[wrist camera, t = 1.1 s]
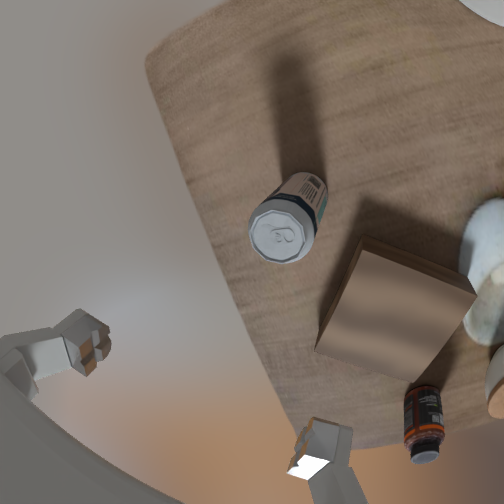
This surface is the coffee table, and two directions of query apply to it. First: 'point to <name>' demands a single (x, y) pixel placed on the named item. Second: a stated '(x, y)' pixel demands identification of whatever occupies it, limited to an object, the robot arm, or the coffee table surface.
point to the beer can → (288, 219)
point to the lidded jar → (495, 384)
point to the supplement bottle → (423, 424)
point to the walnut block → (393, 311)
